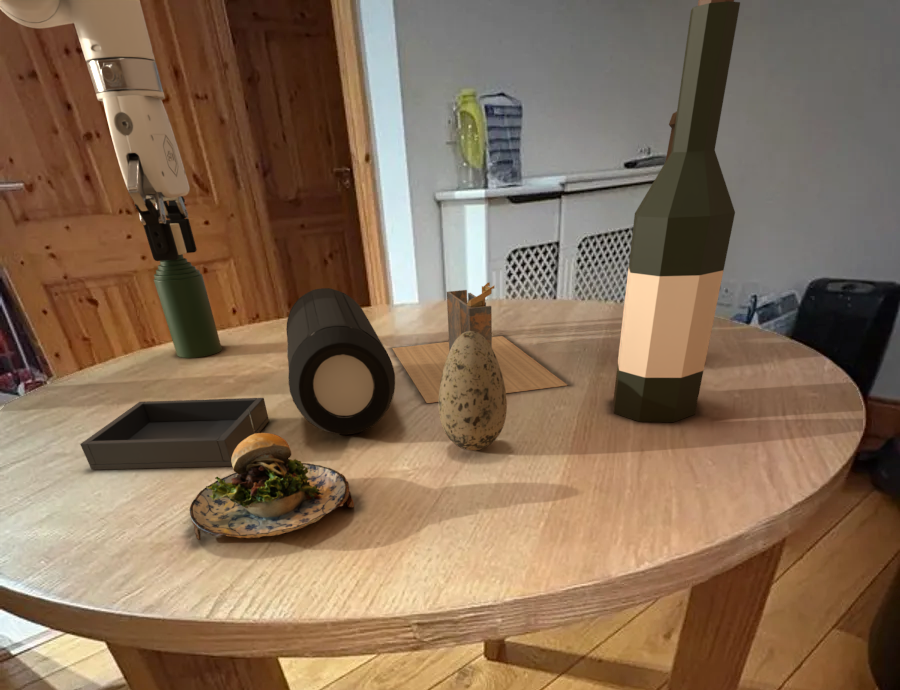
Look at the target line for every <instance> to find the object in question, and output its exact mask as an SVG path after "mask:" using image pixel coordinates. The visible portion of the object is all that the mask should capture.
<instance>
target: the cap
mask: <svg viewBox="0 0 900 690" xmlns="http://www.w3.org/2000/svg"><path fill="white" fill-rule="evenodd" d="M170 226H171V230H172V233H173V237H174V240H175V244H176V247H177V251H178V255H182V254H183V255H185V254H188V253H187V251H186V248H185V244H184V240H183V237H182V233H181V230H180V227H179V224H178V223H170Z"/></svg>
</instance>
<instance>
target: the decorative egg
mask: <svg viewBox="0 0 900 690" xmlns="http://www.w3.org/2000/svg"><path fill="white" fill-rule="evenodd" d="M507 400H508V399H507V393H506V390H505V385H504V380H503V376H502V373H501V369H500V366H499V363H498V360H497V358H496V355H495V353H494V352H493V350H492V348H491V346H490V344H489V343H488V341H487V340H486V339H485V338H484V337H483V336H482V335H481V334H480V333H478V332H475V331H467V332H464V333H462V334H461V335H460V336H459V337H458V338H457V339H456V340H455V342H454V343H453V345H452V347H451V349H450V351H449V354H448V356H447V359H446V362H445V366H444V369H443V373H442V378H441V383H440V389H439V402H438V415H439V420H440V424H441V427H442V429H443V431H444V433H445V435H446V436H447V437H448V440H450V441H451V442H452V443H453V444H454V445H456V447H459V448H461V449H464V450H466V451H479V450H480V451H481V450H483V449H485V448H487V447H489V446H490V445H491V444H492V443H494V442H495V441H496V440H497V438H498V437H499V435H500V434H501V432H502V431H503V428H504V427H505V426H504V425H505V422H506V418H507V408H508V403H507V402H508V401H507Z"/></svg>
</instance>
